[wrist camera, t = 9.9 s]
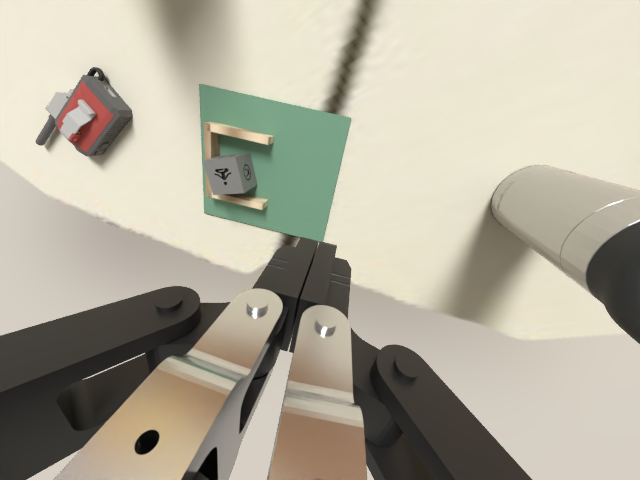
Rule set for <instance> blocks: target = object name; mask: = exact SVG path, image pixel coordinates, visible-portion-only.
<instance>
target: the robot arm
mask: <svg viewBox="0 0 640 480" xmlns="http://www.w3.org/2000/svg"><path fill="white" fill-rule="evenodd" d="M491 208H492V213H493V215H494V217H495V218H496V220H497V221H498V222H500V223H501V224H502V225H503V226H505V227H506V228H507V229H508V230H510V231H511V232H512V233H513V234H515V235H516V236H517V237H518V238H520V239H521V240H522V241H523V242H525V243H526V244H527V245H529V246H530V247H531V248H532V249H534V250H535V251H536V252H538V253H539V254H540V255H541V256H543V257H544V258H545V259H546V260H548V261H549V262H550V263H552V264H553V265H554V266H555V267H557V268H558V269H559V270H561V271H562V272H563V273H564V274H566V275H567V276H568V277H570V278H571V279H572V280H574V281H575V282H576V283H577V284H579V285H580V286H581V287H583V288H584V289H585V290H586V291H588V292H589V293H590V294H591V295H593V296H594V297H595V298H597V299H598V300H599V301H600V302H602V303H603V304H604V305H605V307H606V310H607V312H608V313H609V315H610V316H611V318H612V319H613V320H614V321H615V322H616V323H617V324H618V325H619V326H620V327H621V328H622V329H623V330H624V331H625V332H626V333H627V334H629V335H630V336H631V337H632V338H633V339H635V340H636V341H637V342H638V343H639V344H640V191H639V190H636V189H632V188H628V187H625V186H621V185H617V184H613V183H610V182H606V181H602V180H599V179H595V178H591V177H588V176H584V175H580V174H576V173H573V172H570V171H566V170H562V169H558V168H554V167H550V166H546V165H535V166H529V167H526V168H523V169H520V170H518V171H517V172H515V173H513V174H511V175H510V176H509V177H507V178H506V179H505V180H504V181H503V182H502V183H501V184H500V185H499V187H498V188H497V189H496V191H495V193H494V195H493V198H492V203H491ZM317 247H318V248H317ZM336 248H337V245H333V244H329V243H325V242H321V241H320V242H319V245H318V241H317V240H313V239H309V238H305V237H301V238H300V240H299V242H298V244H297V246H296V247H292V246H288V245H285V246H283V247H281V248H280V249H278V250H277V251H276V252H275V254H274V255H273V257H272V259H271V260H270V262H269V263H268V265H267V266H266V268H265V269H264V271H263V272H262V274H261V276H260V277H259V279H258V281H257V282H256V283H255V285H254V286H253V288H252V289H249V290H246V291H243V292H241V293H240V294H238V295H237V296H236V297H235V298H234V299H233V300H232V302H228V303H200V298H199V295H198V294H197V293H196V292H195V291H194V290H192V289H190V288H187V287H182V286H173V287H166V288H162V289H158V290H155V291H151V292H148V293H145V294H141V295H138V296H134V297H131V298H128V299H124V300H121V301H118V302H115V303H111V304H107V305H104V306H100V307H97V308H94V309H90V310H87V311H83V312H80V313H77V314H73V315H70V316H66V317H63V318H59V319H56V320H53V321H49V322H46V323H42V324H39V325H36V326H32V327H29V328H25V329H22V330H19V331H15V332H12V333H9V334H5V335H2V336H0V480H26V479H28V478H30V477H32V476H34V475H35V474H37V473H39V472H41V471H42V470H44V469H46V468H48V467H49V466H51V465H53V464H55V463H57V462H58V461H60V460H62V459H64V458H65V457H67V456H69V455H71V454H72V453H74V452H76V451H78V450H80V449H81V448H82V449H81V450H80V451H79V452H78V453H77V455H76V456H75V457H74V458H73V459H72V460H71V461H70V462H69V463H68V464H67V465H66V467H64V469H63V470H62V471H61V472H60V473H59V474H58V475H57V476H56V477H55V478H54V480H228V479H229V477H230V474H231V472H232V469H233V466H234V464H235V461H236V458H237V454H238V451H239V448H240V445H241V442H242V439H243V437H244V434H245V432H246V430H247V428H248V425H249V423H250V421H251V419H252V416H253V414H254V412H255V409H256V407H257V405H258V403H259V400H260V397H261V396H262V394H263V391H264V389H265V387H266V384H267V382H268V380H269V378H270V376H271V373H272V370H273V366H274V365H275V363H276V360H277V357H278V354H279V351H280V349H281V350H284V351H287V350H288V347H289V344H290V341H291V338H292V341H291V346H290V350H289V352H292V353H293V357H292V362H291V366H290V371H289V375H288V380H287V385H286V390H285V395H284V400H283V404H282V409H281V415H280V419H279V424H278V429H277V434H276V438H275V443H274V448H273V453H272V457H271V462H270V467H269V472H268V476H267V480H367V468H366V465H367V466H368V468H369V470H370V472H371V474H372V476H373V478H374V480H532V479H531V478H530V477H529V476H528V475H527V474H526V472H525V471H524V470H523V469H522V468H521V467H520V466H519V465H518V464H517V463H516V461H515V460H514V459H513V458H512V457H511V456H510V455H509V454H508V453H507V452H506V451H505V449H504V448H503V447H502V446H501V445H500V444H499V443H498V442H497V440H496V439H495V438H494V437H493V436H492V435H491V434H490V433H489V432H488V431H487V429H486V428H485V427H484V426H483V425H482V424H481V423H480V422H479V421H478V420H477V418H476V417H475V416H474V415H473V414H472V413H471V412H470V411H469V410H468V409H467V408H466V406H465V405H464V404H463V403H462V402H461V401H460V400H459V399H458V398H457V396H455V394H454V393H453V392H452V391H451V390H450V389H449V388H448V386H447V385H446V384H445V383H444V382H443V381H442V380H441V379H440V378H439V377H438V375H437V374H436V373H435V372H434V371H433V370H432V369H431V368H430V367H429V365H428V364H427V363H426V362H425V361H424V360H423V359H422V358H421V357H420V356H419V355H418V354H416V353H415V352H414V351H412V350H410V349H408V348H406V347H404V346H400V345H387V346H385V347H383V348H382V349H381V350H379V349H377V348H376V347H374V346H372V345H370V344H368V343H367V342H365V341H364V340H362V339H361V338H360V337H359V336H357V334H355V332H354V331H353V330H352V328H351V326H350V323H349V321H348V306H349V292H350V280H351V279H350V278H351V267H350V266H349V264H348V262H347V260H343V259H339V258H335V253H336ZM292 335H293V336H292ZM142 353H145V354H144V355H142V356H139V357H137V358H135V359H132V360H130V361H128V362H125V363H123V364H121V365H119V366H116V367H114V368H112V369H109V370H107V371H105V372H102V373H100V374H98V375H95V376H93V377H91V378H88V379H84V378H87V377H89V376H91V375H94V374H96V373H98V372H101V371H103V370H105V369H108V368H110V367H112V366H115V365H117V364H119V363H122V362H124V361H126V360H129V359H131V358H133V357H136V356H138V355H140V354H142ZM82 379H84V380H82Z"/></svg>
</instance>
